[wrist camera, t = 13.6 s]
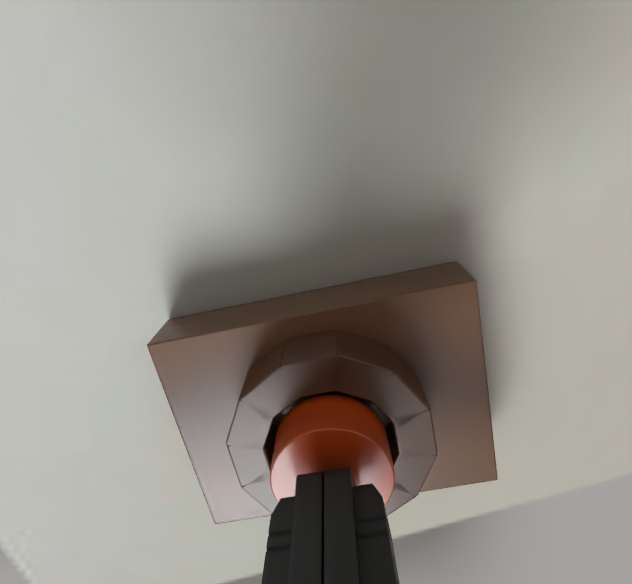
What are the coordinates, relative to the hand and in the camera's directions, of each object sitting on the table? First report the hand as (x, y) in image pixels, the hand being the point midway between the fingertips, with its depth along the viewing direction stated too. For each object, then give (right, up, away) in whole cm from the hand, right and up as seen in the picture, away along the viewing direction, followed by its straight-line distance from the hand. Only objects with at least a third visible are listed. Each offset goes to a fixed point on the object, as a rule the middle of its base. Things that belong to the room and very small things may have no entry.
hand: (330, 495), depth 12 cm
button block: (0, +2, +6) cm, 6 cm away
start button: (0, +1, +2) cm, 2 cm away
